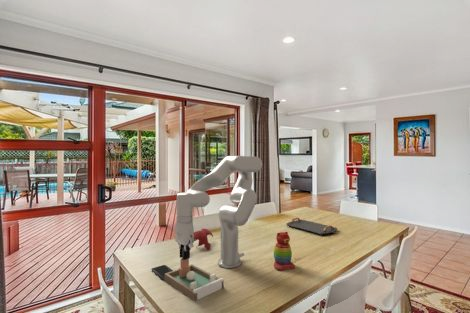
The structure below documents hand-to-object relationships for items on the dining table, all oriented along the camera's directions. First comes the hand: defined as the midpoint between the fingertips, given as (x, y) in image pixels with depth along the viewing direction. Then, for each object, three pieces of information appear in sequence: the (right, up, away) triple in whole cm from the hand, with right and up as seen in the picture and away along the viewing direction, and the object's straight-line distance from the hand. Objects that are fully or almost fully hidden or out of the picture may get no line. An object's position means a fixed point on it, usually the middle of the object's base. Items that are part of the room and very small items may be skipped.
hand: (184, 257), depth 123 cm
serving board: (+84, -11, +84) cm, 120 cm away
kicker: (0, -9, 0) cm, 9 cm away
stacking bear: (+49, -10, +14) cm, 52 cm away
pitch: (+4, -10, -4) cm, 12 cm away
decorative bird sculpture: (+3, -10, +40) cm, 42 cm away
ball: (+4, -7, -4) cm, 9 cm away
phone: (-11, -11, +6) cm, 16 cm away
